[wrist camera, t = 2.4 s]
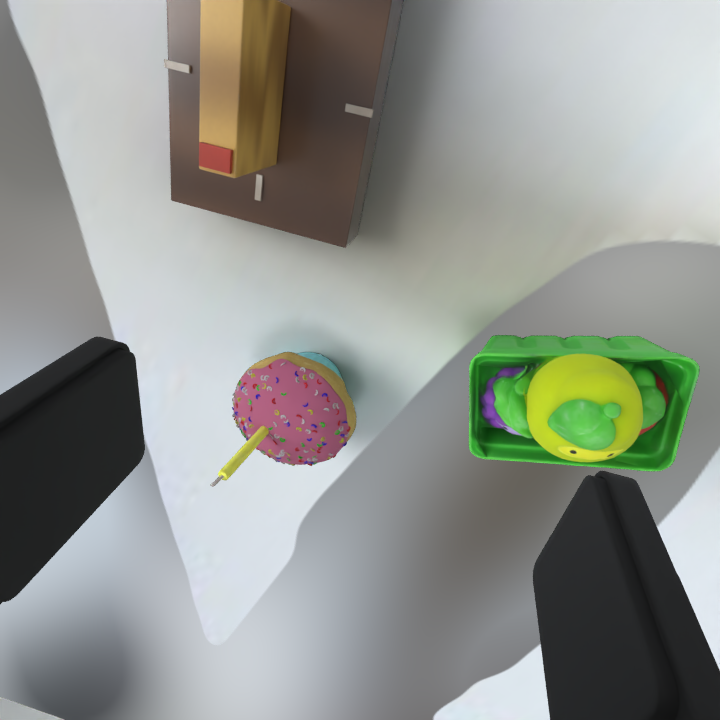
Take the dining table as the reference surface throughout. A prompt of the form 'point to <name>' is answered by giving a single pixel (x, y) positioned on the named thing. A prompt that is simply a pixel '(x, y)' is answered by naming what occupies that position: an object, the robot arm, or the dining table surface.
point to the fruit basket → (579, 401)
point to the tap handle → (241, 84)
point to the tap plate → (294, 119)
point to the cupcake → (292, 411)
